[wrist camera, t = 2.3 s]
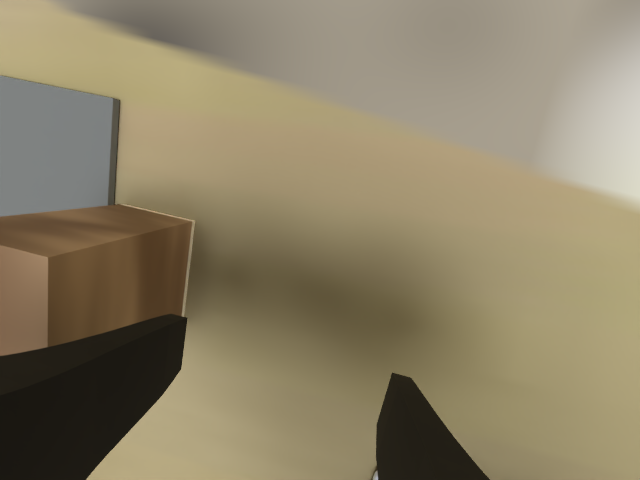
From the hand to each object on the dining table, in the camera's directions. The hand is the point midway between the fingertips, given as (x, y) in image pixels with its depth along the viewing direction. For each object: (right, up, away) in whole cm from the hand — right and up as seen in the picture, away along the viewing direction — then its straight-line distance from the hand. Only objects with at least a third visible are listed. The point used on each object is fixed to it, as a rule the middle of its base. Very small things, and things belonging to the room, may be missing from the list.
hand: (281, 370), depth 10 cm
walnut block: (-8, +3, +6) cm, 10 cm away
